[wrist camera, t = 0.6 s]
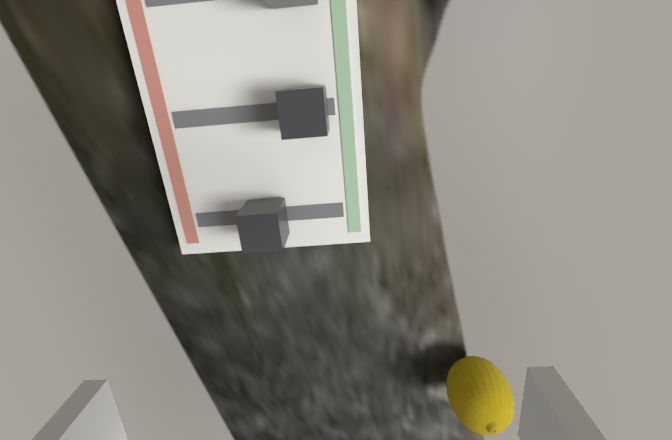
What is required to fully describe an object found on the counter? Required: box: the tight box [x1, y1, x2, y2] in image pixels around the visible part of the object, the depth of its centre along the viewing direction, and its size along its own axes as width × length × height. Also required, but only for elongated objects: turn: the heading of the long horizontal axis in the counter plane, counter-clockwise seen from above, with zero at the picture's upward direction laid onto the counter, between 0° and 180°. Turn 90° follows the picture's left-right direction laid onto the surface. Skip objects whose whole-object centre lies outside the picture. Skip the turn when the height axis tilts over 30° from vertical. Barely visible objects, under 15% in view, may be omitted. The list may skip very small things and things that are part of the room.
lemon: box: [446, 356, 515, 435], centre depth 34 cm, size 6×6×8 cm
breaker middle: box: [275, 85, 330, 140], centre depth 25 cm, size 3×3×4 cm
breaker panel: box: [116, 0, 370, 254], centre depth 28 cm, size 22×16×2 cm
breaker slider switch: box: [235, 198, 290, 254], centre depth 29 cm, size 3×3×4 cm
